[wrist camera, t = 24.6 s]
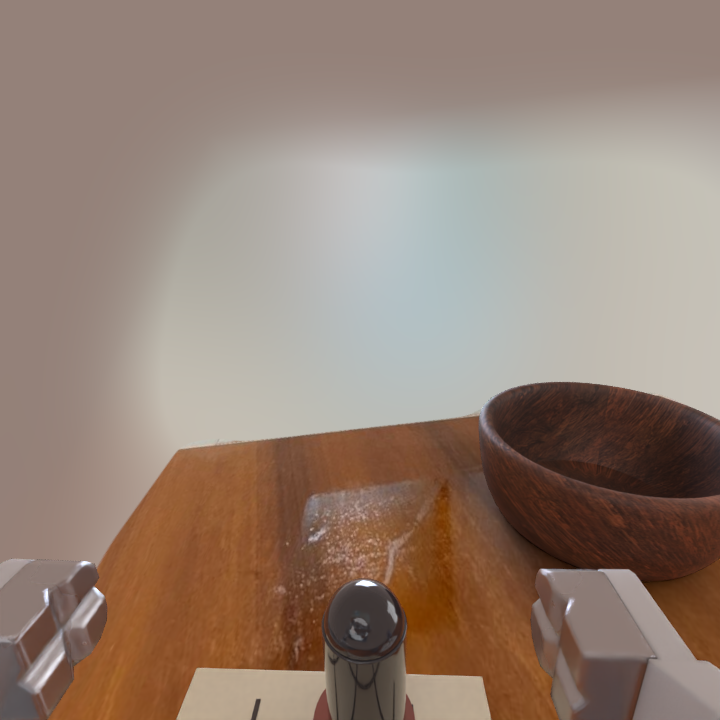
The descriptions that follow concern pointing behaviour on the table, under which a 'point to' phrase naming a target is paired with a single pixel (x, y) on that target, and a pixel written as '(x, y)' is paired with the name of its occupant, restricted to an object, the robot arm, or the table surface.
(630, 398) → the wooden bowl
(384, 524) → the table surface
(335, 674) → the dome-topped canister
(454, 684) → the board
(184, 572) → the table surface
